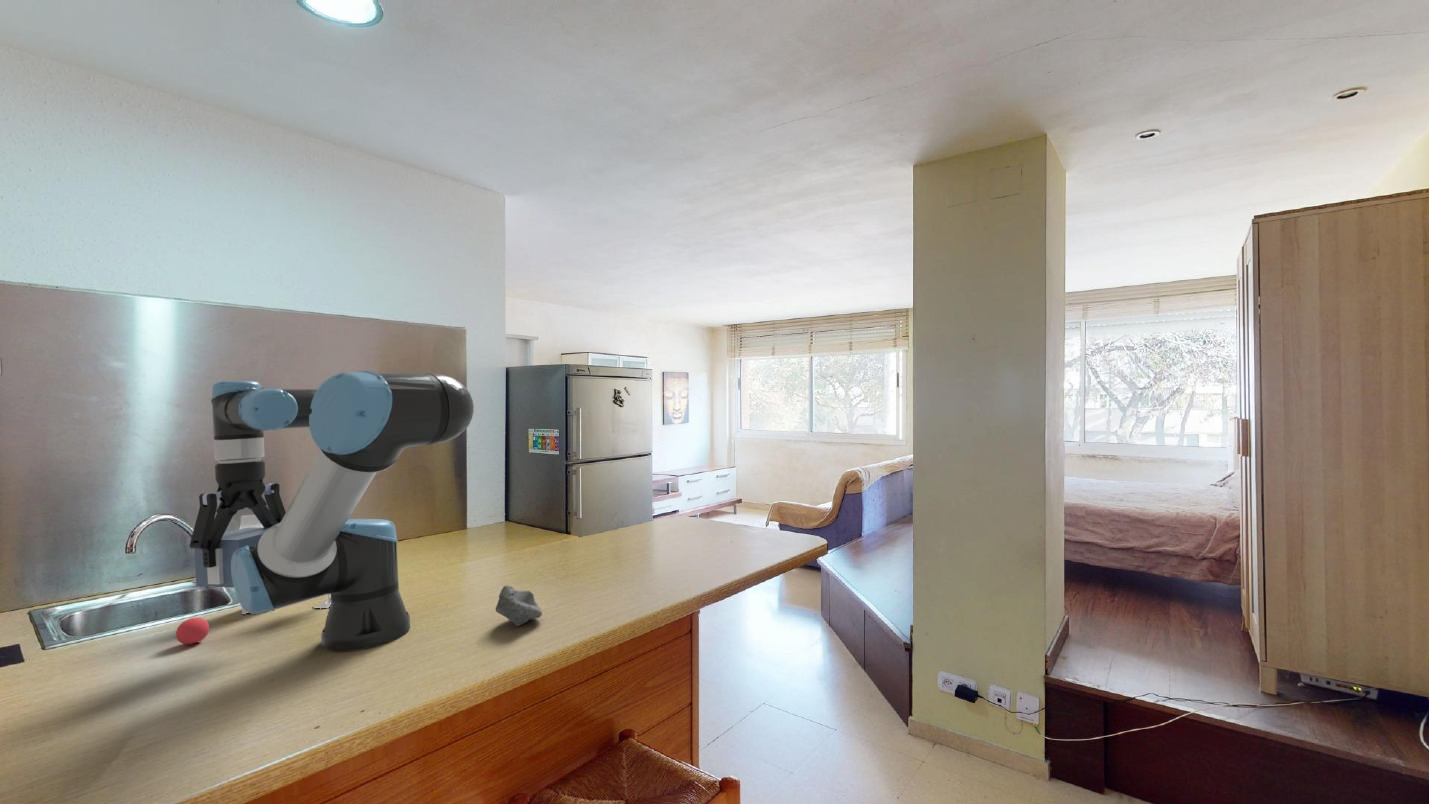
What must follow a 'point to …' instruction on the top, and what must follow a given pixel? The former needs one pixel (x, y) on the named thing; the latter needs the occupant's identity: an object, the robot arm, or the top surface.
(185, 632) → the ball
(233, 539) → the blue gray block
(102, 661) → the top surface
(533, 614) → the grey rock
